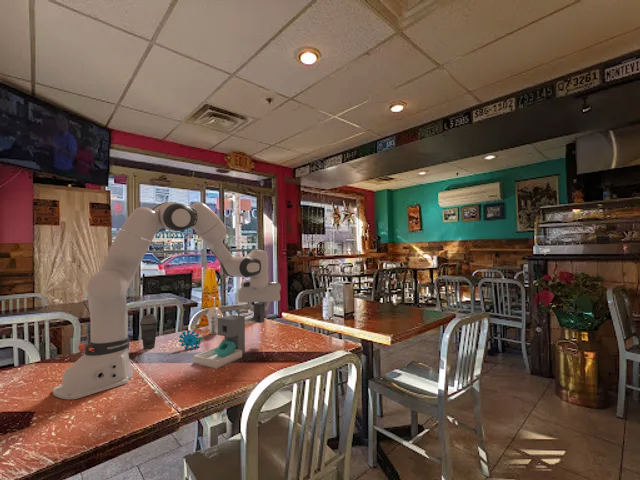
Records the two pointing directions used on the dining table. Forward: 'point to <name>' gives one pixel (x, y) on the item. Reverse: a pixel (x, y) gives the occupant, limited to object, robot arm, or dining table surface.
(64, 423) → the dining table surface
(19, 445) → the dining table surface
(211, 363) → the tray
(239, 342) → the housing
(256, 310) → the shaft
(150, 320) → the beverage cup
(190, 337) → the teal virus model
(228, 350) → the spacer
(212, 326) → the cup with straw
